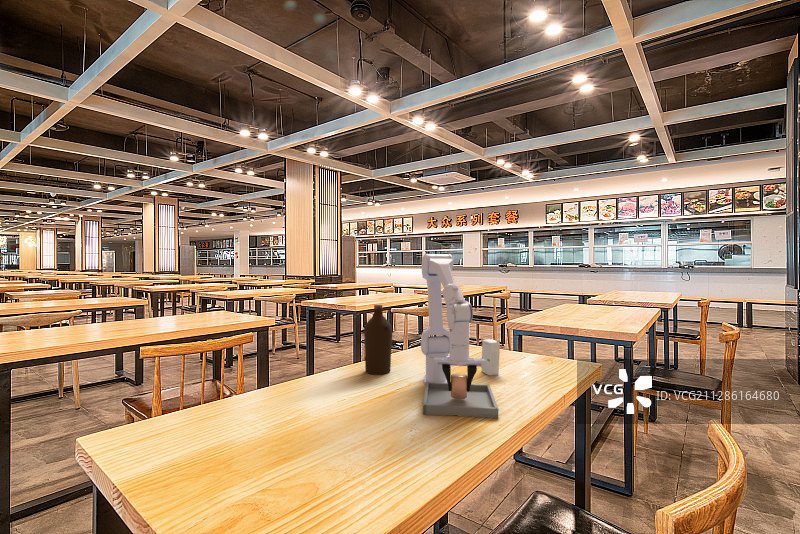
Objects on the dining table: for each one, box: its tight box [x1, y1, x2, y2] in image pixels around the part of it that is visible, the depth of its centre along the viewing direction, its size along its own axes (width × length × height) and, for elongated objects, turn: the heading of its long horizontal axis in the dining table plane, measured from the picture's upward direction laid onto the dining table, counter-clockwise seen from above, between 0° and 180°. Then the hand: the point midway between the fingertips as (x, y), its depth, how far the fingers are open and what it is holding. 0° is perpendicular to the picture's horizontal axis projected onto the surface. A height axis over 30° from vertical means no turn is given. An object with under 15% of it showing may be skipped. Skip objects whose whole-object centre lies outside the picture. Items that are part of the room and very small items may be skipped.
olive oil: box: [363, 304, 393, 376], centre depth 145 cm, size 11×11×25 cm
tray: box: [422, 382, 499, 419], centre depth 114 cm, size 20×20×2 cm
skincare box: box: [480, 338, 501, 376], centre depth 144 cm, size 6×4×12 cm
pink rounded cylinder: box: [451, 373, 467, 399], centre depth 113 cm, size 5×5×6 cm
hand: (458, 390), depth 114 cm, fingers closed on pink rounded cylinder, 5 cm apart
